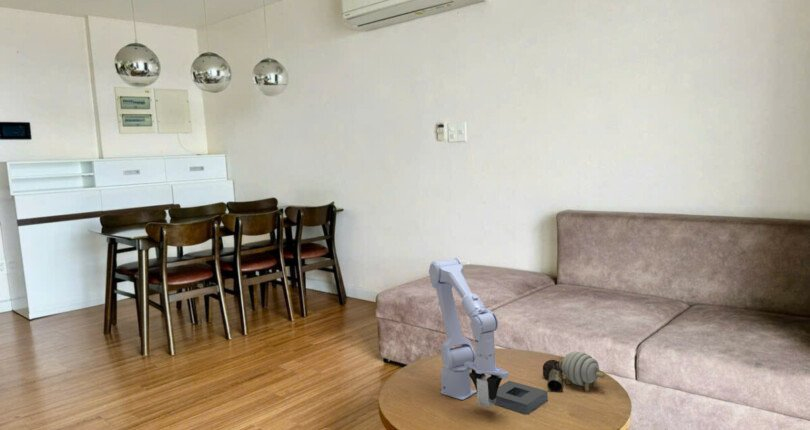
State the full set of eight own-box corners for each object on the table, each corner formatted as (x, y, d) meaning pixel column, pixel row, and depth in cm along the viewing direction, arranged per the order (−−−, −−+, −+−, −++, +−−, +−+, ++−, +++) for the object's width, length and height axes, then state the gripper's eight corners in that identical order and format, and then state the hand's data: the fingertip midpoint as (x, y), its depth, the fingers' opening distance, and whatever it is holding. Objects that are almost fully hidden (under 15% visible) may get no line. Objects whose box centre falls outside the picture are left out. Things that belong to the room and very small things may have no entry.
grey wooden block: (477, 404, 169) (476, 378, 168) (485, 399, 171) (484, 374, 170) (488, 407, 166) (487, 381, 165) (496, 402, 169) (495, 377, 168)
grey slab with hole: (488, 402, 176) (487, 393, 176) (509, 389, 185) (509, 380, 184) (527, 414, 166) (527, 404, 166) (547, 400, 175) (547, 391, 175)
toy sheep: (568, 374, 194) (567, 343, 192) (614, 388, 181) (613, 355, 180) (550, 384, 187) (549, 351, 186) (596, 398, 174) (596, 364, 173)
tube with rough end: (563, 393, 180) (562, 376, 179) (541, 392, 182) (540, 375, 181) (563, 371, 197) (563, 356, 196) (544, 371, 199) (543, 355, 198)
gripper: (457, 351, 169) (459, 395, 170) (497, 362, 159) (499, 408, 161) (471, 345, 174) (473, 387, 176) (511, 354, 164) (513, 399, 166)
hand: (486, 396), depth 168 cm, fingers closed on grey wooden block, 4 cm apart
